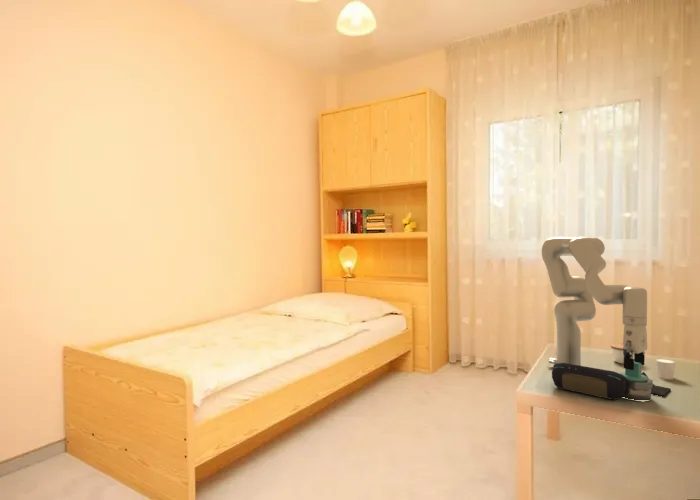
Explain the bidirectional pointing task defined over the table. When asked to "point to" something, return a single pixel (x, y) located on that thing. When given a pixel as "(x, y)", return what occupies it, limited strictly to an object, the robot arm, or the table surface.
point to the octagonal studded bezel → (638, 390)
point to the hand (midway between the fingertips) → (634, 366)
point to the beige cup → (665, 368)
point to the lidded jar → (618, 352)
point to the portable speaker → (589, 380)
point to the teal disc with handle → (635, 374)
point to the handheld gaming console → (659, 389)
